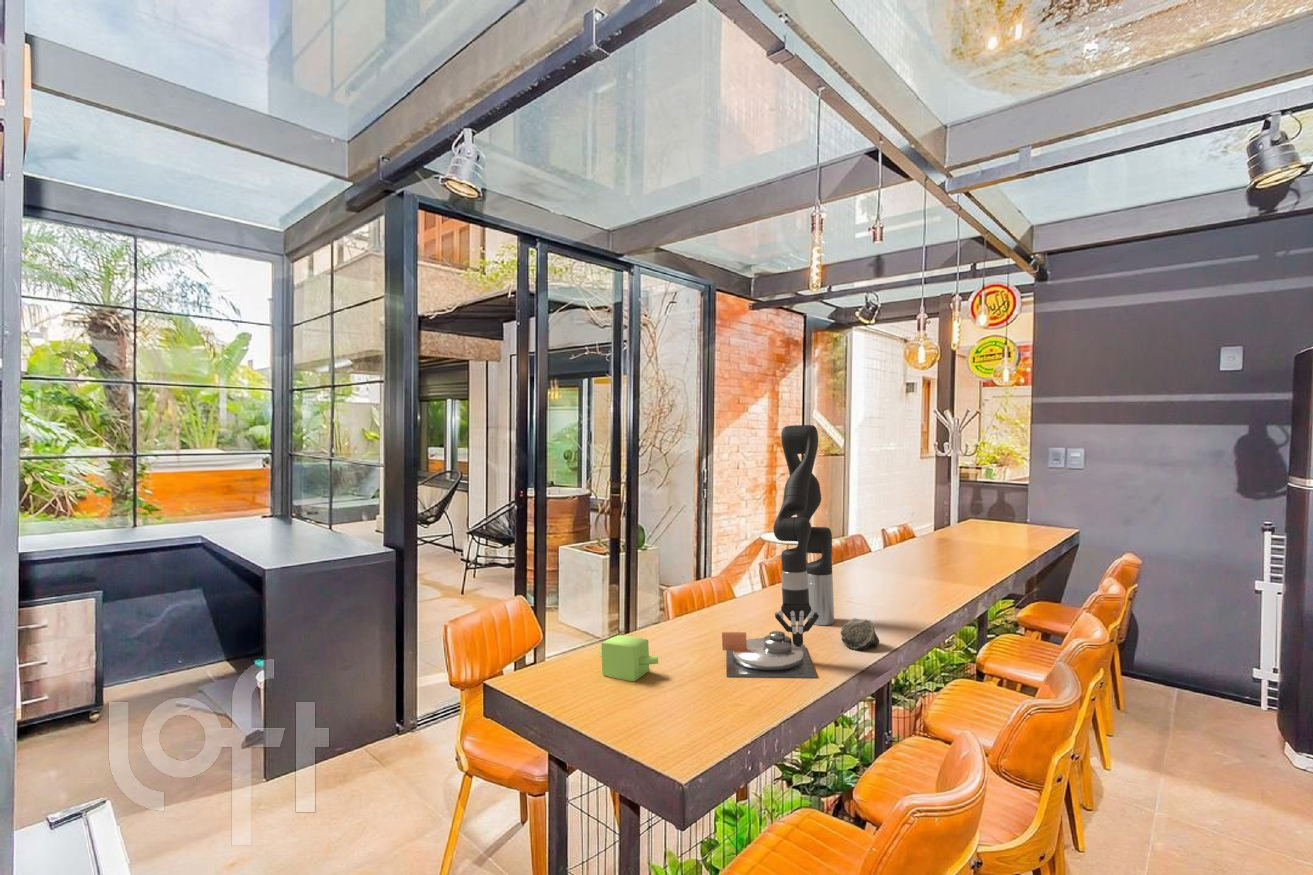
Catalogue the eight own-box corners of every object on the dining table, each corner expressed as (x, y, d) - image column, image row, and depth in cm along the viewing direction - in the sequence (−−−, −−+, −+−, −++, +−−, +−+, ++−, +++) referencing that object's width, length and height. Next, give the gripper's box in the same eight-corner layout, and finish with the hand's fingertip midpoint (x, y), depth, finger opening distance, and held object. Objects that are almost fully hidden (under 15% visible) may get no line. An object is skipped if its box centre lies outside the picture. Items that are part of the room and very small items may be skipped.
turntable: (723, 644, 183) (722, 622, 183) (798, 645, 180) (797, 623, 180) (722, 669, 163) (721, 644, 163) (807, 670, 160) (806, 645, 160)
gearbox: (666, 672, 165) (665, 638, 165) (648, 685, 157) (647, 649, 157) (614, 662, 175) (613, 630, 175) (594, 674, 166) (593, 640, 166)
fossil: (837, 647, 179) (838, 613, 183) (843, 653, 186) (844, 620, 190) (875, 651, 174) (875, 616, 178) (880, 656, 181) (880, 623, 185)
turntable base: (726, 646, 184) (726, 644, 184) (804, 647, 182) (804, 644, 182) (726, 676, 161) (726, 673, 161) (816, 677, 158) (816, 674, 158)
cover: (763, 644, 175) (762, 629, 175) (790, 644, 174) (789, 629, 174) (764, 653, 167) (763, 637, 167) (793, 654, 166) (792, 637, 166)
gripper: (816, 582, 173) (819, 641, 173) (770, 583, 175) (773, 641, 174) (820, 588, 166) (823, 650, 166) (773, 589, 167) (776, 650, 167)
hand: (797, 645), depth 170 cm, fingers closed
